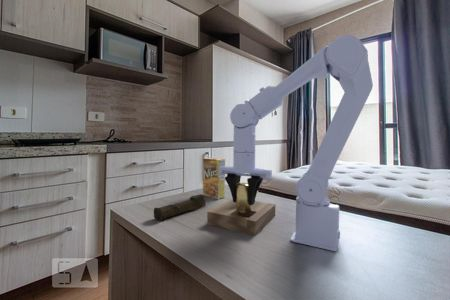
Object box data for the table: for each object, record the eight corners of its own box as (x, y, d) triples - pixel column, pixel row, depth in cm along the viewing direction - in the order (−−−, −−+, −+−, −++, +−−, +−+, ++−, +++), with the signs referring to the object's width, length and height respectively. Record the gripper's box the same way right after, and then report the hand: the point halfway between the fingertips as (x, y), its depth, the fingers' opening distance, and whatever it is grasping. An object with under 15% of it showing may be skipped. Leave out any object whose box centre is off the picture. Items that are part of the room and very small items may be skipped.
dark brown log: (159, 223, 61) (159, 207, 61) (152, 219, 64) (152, 203, 64) (210, 208, 75) (210, 194, 75) (202, 205, 78) (203, 192, 77)
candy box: (202, 195, 90) (202, 158, 89) (209, 193, 93) (209, 157, 93) (218, 199, 84) (218, 159, 84) (225, 197, 88) (225, 158, 87)
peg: (253, 209, 60) (253, 183, 59) (247, 213, 56) (247, 186, 56) (240, 206, 62) (240, 182, 61) (233, 211, 58) (233, 184, 58)
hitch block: (275, 215, 67) (275, 204, 67) (255, 235, 53) (255, 221, 53) (234, 208, 74) (234, 197, 74) (207, 224, 60) (207, 211, 60)
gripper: (275, 152, 58) (274, 203, 59) (227, 150, 65) (227, 195, 66) (266, 153, 52) (265, 210, 53) (214, 151, 59) (214, 201, 60)
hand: (243, 202), depth 59 cm, fingers closed on peg, 4 cm apart
